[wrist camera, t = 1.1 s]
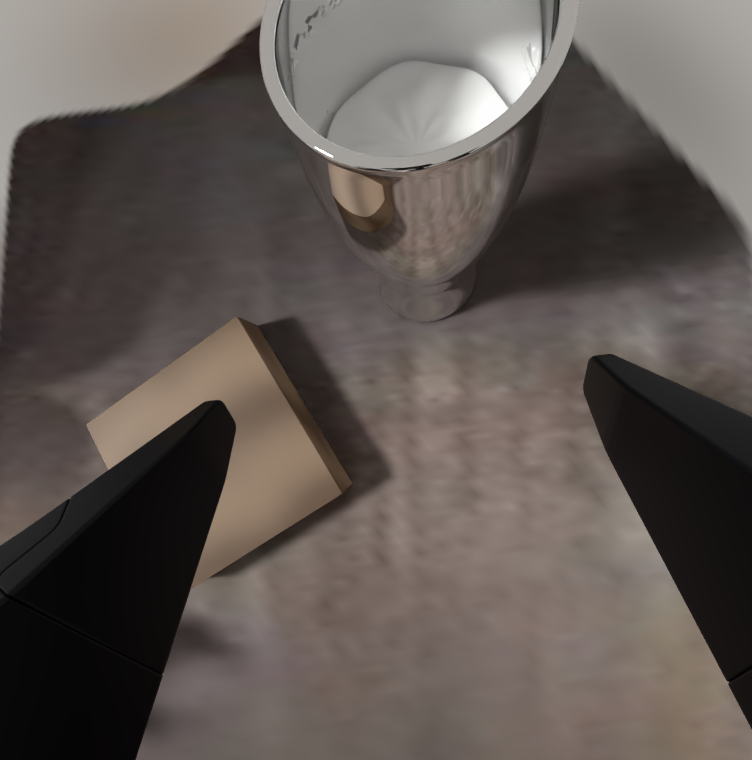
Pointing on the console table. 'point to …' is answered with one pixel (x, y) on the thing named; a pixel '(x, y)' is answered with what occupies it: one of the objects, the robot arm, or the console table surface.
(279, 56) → the beer glass
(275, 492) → the wooden square board
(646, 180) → the console table surface
